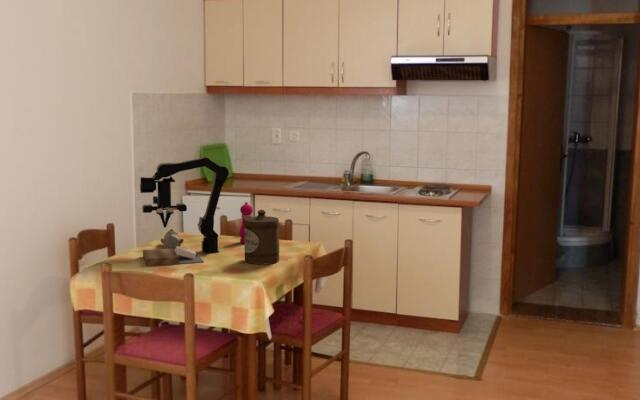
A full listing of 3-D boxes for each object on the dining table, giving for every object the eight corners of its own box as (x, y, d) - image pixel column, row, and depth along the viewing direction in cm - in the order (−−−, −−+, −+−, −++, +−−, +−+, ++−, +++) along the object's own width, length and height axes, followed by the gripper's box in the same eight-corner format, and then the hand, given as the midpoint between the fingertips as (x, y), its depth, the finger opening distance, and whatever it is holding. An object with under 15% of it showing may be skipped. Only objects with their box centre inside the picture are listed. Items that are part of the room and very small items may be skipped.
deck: (173, 255, 324) (173, 248, 324) (178, 264, 307) (178, 257, 307) (143, 256, 320) (142, 250, 319) (146, 266, 303) (146, 258, 303)
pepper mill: (251, 244, 348) (251, 202, 345) (237, 243, 350) (236, 202, 347) (256, 241, 355) (255, 200, 352) (241, 240, 357) (241, 200, 354)
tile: (192, 256, 320) (194, 250, 320) (194, 259, 314) (196, 253, 314) (174, 251, 317) (176, 245, 317) (176, 254, 312) (178, 248, 312)
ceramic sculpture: (158, 231, 332) (161, 227, 347) (158, 250, 333) (161, 245, 348) (182, 231, 334) (184, 227, 348) (182, 250, 334) (184, 245, 349)
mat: (197, 254, 325) (197, 253, 325) (203, 262, 310) (203, 261, 310) (174, 255, 322) (174, 255, 322) (179, 264, 307) (179, 263, 307)
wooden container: (240, 258, 319) (239, 208, 316) (272, 255, 325) (272, 206, 322) (250, 265, 305) (250, 213, 302) (284, 262, 311) (284, 211, 308)
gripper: (183, 189, 332) (183, 223, 335) (140, 190, 327) (141, 225, 329) (186, 192, 322) (187, 227, 324) (143, 193, 316) (143, 229, 318)
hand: (164, 227), depth 324 cm, fingers closed
